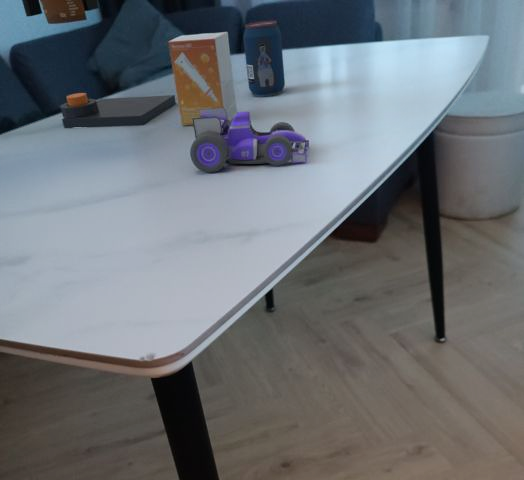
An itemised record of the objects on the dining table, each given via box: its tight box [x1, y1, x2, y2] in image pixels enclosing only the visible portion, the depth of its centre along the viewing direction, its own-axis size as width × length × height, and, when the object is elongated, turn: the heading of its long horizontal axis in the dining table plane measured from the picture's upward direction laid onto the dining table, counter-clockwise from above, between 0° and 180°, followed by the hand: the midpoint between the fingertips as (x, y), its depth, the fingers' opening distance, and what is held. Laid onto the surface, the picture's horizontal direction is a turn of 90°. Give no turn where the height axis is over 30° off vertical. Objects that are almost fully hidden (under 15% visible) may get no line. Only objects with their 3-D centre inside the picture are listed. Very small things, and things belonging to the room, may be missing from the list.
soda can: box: [243, 20, 286, 98], centre depth 112 cm, size 7×7×12 cm
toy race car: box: [189, 108, 310, 174], centre depth 80 cm, size 10×15×6 cm, turn 83°
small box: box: [167, 31, 238, 127], centre depth 98 cm, size 8×6×13 cm
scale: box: [59, 94, 177, 129], centre depth 111 cm, size 17×15×4 cm
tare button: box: [65, 92, 89, 106], centre depth 108 cm, size 4×4×2 cm
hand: (62, 12), depth 82 cm, fingers closed on food container, 8 cm apart
